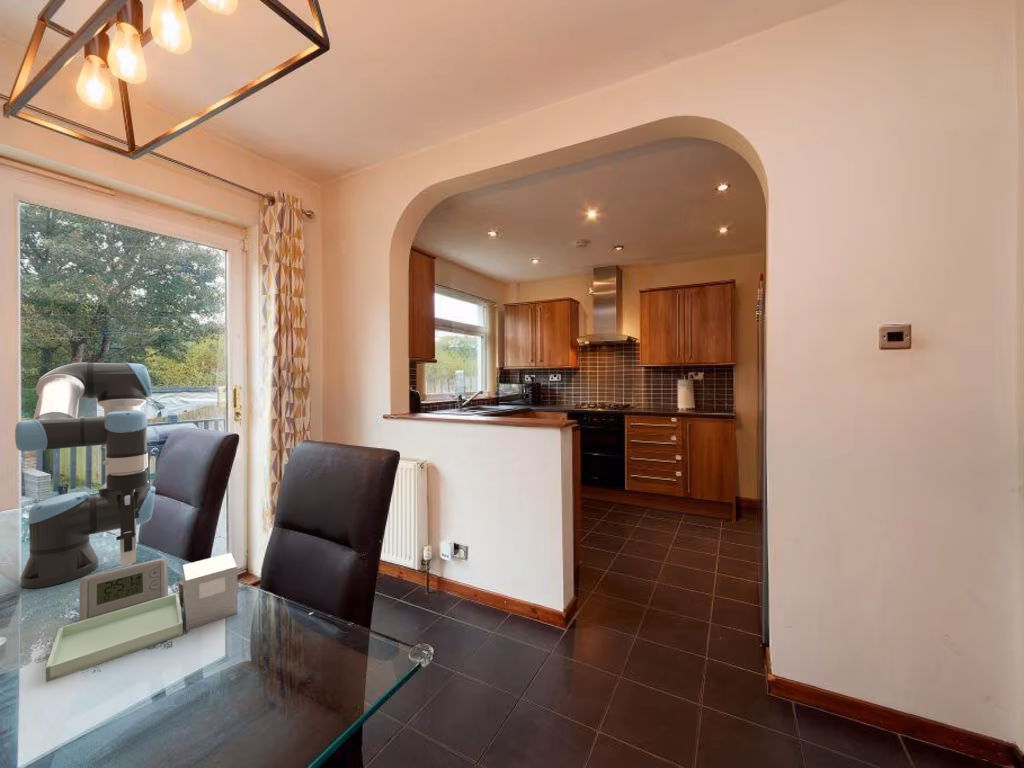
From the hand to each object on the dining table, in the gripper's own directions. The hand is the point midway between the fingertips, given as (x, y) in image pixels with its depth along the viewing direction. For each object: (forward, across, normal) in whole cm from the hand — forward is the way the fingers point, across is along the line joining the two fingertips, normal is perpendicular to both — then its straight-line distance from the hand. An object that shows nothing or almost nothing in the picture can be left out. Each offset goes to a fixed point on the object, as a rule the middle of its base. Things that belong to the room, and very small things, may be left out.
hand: (129, 553), depth 100 cm
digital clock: (+15, 0, -1) cm, 15 cm away
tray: (+14, +14, -1) cm, 20 cm away
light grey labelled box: (+14, +16, +15) cm, 26 cm away
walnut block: (+14, +6, +12) cm, 20 cm away
